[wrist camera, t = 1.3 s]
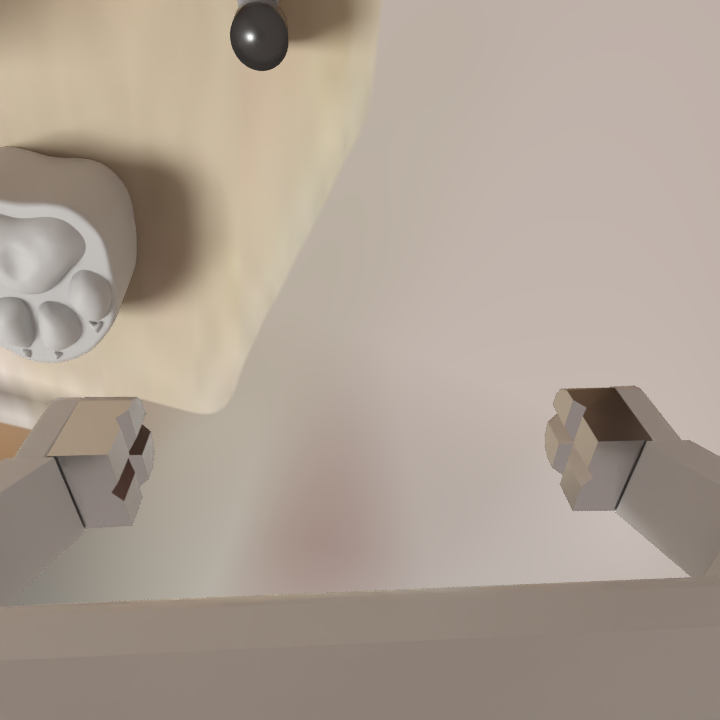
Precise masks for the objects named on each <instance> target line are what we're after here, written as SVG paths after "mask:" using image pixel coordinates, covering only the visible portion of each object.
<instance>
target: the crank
mask: <svg viewBox="0 0 720 720" xmlns="http://www.w3.org/2000/svg"><path fill="white" fill-rule="evenodd" d="M238 7H239V8H238V9H237V11H236V14H235V17H234V20H233V22H232V26H231V31H230V39H231V45H232V48H233V50H234V52H235V54H236V56H237V57H238V59H239V60H240V61H241V62H242V63H243V64H245V65H246V66H247V67H249V68H251V69H254V70H258V71H266V70H270V69H273V68H275V67H276V66H278V65H279V64H280V63H281V62H282V60H283V59H284V57H285V55H286V52H287V49H288V26H287V21H286V18H285V15H284V13H283V11H282V10H281V8H280V7H279V0H238Z"/></svg>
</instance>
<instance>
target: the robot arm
mask: <svg viewBox="0 0 720 720" xmlns="http://www.w3.org/2000/svg"><path fill="white" fill-rule="evenodd" d="M553 406H554V408H555V410H556V412H557V414H556V415H555V416H554V417H553V418H552V419H550V420H549V421H548V424H547V428H546V432H545V449H546V453H547V457H548V460H549V462H550V464H551V466H552V468H554V469H555V470H556V471H558V472H559V473H561V474H562V475H563V476H562V480H561V483H560V486H561V487H562V490H563V492H564V494H565V496H566V498H567V500H568V502H569V504H570V506H571V508H572V510H573V511H608V510H609V511H611V510H616V513H617V514H618V515H619V516H620V517H621V518H623V519H624V520H625V521H626V522H627V523H628V524H630V525H631V526H632V527H633V528H634V529H635V530H637V531H638V532H639V533H640V534H641V535H643V536H644V537H645V538H646V539H647V540H648V541H649V542H651V543H652V544H653V545H654V546H655V547H657V548H658V549H659V550H660V551H661V552H662V553H664V554H665V555H666V556H667V557H668V558H669V559H671V560H672V561H673V562H674V563H675V564H676V565H678V566H679V567H680V568H681V569H682V570H684V571H685V572H686V573H687V574H688V575H689V576H690V577H688V578H664V579H640V580H617V581H616V580H615V581H591V582H567V583H543V584H520V585H495V586H471V587H447V588H425V589H424V588H423V589H401V590H400V589H399V590H375V591H351V592H329V593H328V592H327V593H303V594H280V595H256V596H231V597H207V598H183V599H161V600H135V601H112V602H88V603H64V604H40V605H15V606H8V605H9V604H10V603H11V602H12V601H13V600H14V599H15V598H16V597H17V596H19V595H20V594H21V592H23V591H24V590H25V589H26V588H27V587H28V586H29V585H30V584H31V583H32V582H33V581H34V580H35V579H36V578H37V577H38V576H39V575H40V574H41V573H42V572H43V571H44V570H45V569H46V568H47V567H48V566H49V565H50V564H52V563H53V562H54V561H55V560H56V559H57V558H58V557H59V556H60V555H61V554H62V553H63V552H64V551H65V550H66V549H67V548H68V547H69V546H70V545H71V544H72V543H73V542H74V541H75V540H76V539H77V538H78V537H79V536H80V535H81V534H83V533H84V531H85V528H103V527H119V526H132V525H133V522H134V519H135V517H136V514H137V511H138V509H139V506H140V503H141V500H142V494H141V491H140V486H141V485H142V484H143V483H145V482H146V481H147V480H148V479H149V477H150V474H151V471H152V468H153V460H154V443H153V438H152V434H151V431H150V430H149V429H147V428H146V427H145V426H144V425H142V423H143V420H144V418H145V415H146V412H145V409H144V406H143V403H142V400H140V399H139V398H138V397H85V398H81V397H79V398H56V399H54V400H52V401H51V402H50V403H49V405H48V406H47V408H46V409H45V411H44V412H43V414H42V415H41V417H40V418H39V420H38V421H37V423H36V424H35V426H34V427H33V429H32V431H31V432H30V434H29V435H28V437H27V438H26V440H25V441H24V443H23V444H22V446H21V447H20V449H19V450H18V452H17V454H16V455H15V457H14V458H5V459H3V460H1V461H0V720H720V456H718V455H716V454H714V453H712V452H711V451H709V450H707V449H705V448H703V447H701V446H699V445H697V444H696V443H694V442H692V441H690V440H681V439H680V437H679V436H678V435H677V434H676V432H675V431H674V430H673V429H672V427H671V426H670V425H669V424H668V422H667V421H666V420H665V419H664V417H663V416H662V415H661V413H660V412H659V411H658V410H657V408H656V407H655V406H654V405H653V403H652V402H651V401H650V400H649V398H648V397H647V396H646V395H645V393H644V392H643V391H642V390H641V389H640V388H638V387H636V386H619V387H618V386H616V387H609V388H576V389H575V388H573V389H572V388H571V389H560V390H559V391H558V392H557V394H556V396H555V399H554V402H553Z"/></svg>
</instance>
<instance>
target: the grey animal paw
mask: <svg viewBox="0 0 720 720" xmlns="http://www.w3.org/2000/svg"><path fill="white" fill-rule="evenodd" d="M136 259H137V233H136V223H135V218H134V211H133V205H132V201H131V198H130V195H129V192H128V190H127V188H126V187H125V185H124V183H123V182H122V181H121V179H120V178H119V177H118V176H117V175H116V174H115V173H114V172H113V171H112V170H111V169H110V168H108V167H107V166H105V165H104V164H102V163H100V162H97V161H94V160H91V159H85V158H59V157H52V156H47V155H43V154H39V153H36V152H33V151H30V150H26V149H22V148H17V147H8V146H7V147H0V346H2V347H4V348H5V349H7V350H9V351H11V352H13V353H15V354H17V355H19V356H21V357H24V358H26V359H29V360H32V361H36V362H45V363H56V362H64V361H68V360H71V359H74V358H77V357H79V356H81V355H83V354H85V353H87V352H89V351H90V350H92V349H93V348H94V347H95V346H96V345H97V344H98V343H99V342H100V341H101V340H102V339H103V337H104V336H105V335H106V333H107V332H108V331H109V329H110V328H111V326H112V325H113V323H114V321H115V319H116V317H117V314H118V312H119V309H120V306H121V304H122V301H123V298H124V296H125V293H126V291H127V288H128V285H129V283H130V280H131V278H132V275H133V272H134V270H135V266H136Z"/></svg>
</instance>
